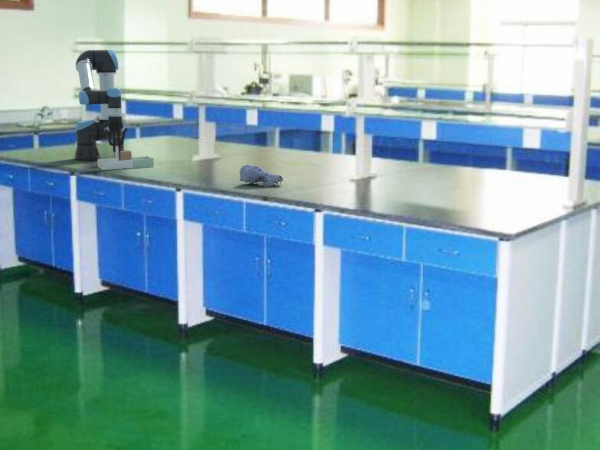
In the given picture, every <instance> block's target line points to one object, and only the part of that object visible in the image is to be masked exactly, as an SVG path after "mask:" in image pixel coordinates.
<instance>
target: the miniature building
mask: <svg viewBox="0 0 600 450" xmlns="http://www.w3.org/2000/svg"><path fill="white" fill-rule="evenodd" d="M122 129H123V128H122ZM122 129H121V131H120V142H121V137H122V132H123V130H122ZM115 142H116V146H117V134H116V132H115ZM124 146H125V143H123V145H121V146H120V151H125V147H124ZM113 154H114V155H113V158H115V152H113Z"/></svg>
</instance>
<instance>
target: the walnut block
mask: <svg viewBox="0 0 600 450" xmlns="http://www.w3.org/2000/svg"><path fill="white" fill-rule="evenodd" d="M118 154H119V161H123V160H132V157H133V156H132V151H131V150H129V149H128V150H124V151H120V152H118Z"/></svg>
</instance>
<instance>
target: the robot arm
mask: <svg viewBox="0 0 600 450" xmlns="http://www.w3.org/2000/svg"><path fill="white" fill-rule="evenodd" d="M75 69H76V71H77V73H78V77H79V83H80V91H79V92H78V100H79V102H78V103H79V104H80V105H86V106H87V105H100V113H101V115H100V117H99V118H98V121H96V120H95V119H86V120H81V121H78V122H76V123H75V133H76V134H75V135H76V148H75V152H74V160H76V161H94V160H95V161H96V160H98V159H101V153H100V151H99V148H98V145H97V142H104V141H105V142H108V144H109V146H112V152H113V153H114V152H115V158H119V154H118V152H120V146H121V145H123V143H124V142H125V137H126V134H127V133H126V132H127V131H128V128H127V127H125V126H124V124H123V116H122V115H123V111H122V109H123V108H122V91H121V88H120V87H115V75H116V74H117V71H118V70H119V61H118V56H117V53H116V51H115V50H111V49H94V50H93V49H89V50H86V51H83V52H82V53H80V54H79V56H78V57H77V58H76V60H75ZM92 71H96V74H97V75H98V79H99V90H96V88H95V83H94V78H93V72H92ZM121 129H122V137H121V142H120V131H121ZM115 132H116V134H117V146H116V142H115ZM124 144H125V143H124Z"/></svg>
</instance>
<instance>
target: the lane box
mask: <svg viewBox="0 0 600 450" xmlns="http://www.w3.org/2000/svg"><path fill="white" fill-rule="evenodd" d="M154 162H155V161H154V157H152V156H149V155H146V156H132V160H123V161H119V158H114V157H113V158H100V159H97V168H98V169H100V170H102V171H107V170H108V171H109V170H111V171H112V170H123V169H124V168H126V169H138V168H139V169H140V168H152V167H153V168H154V166H155V165H154Z"/></svg>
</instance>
